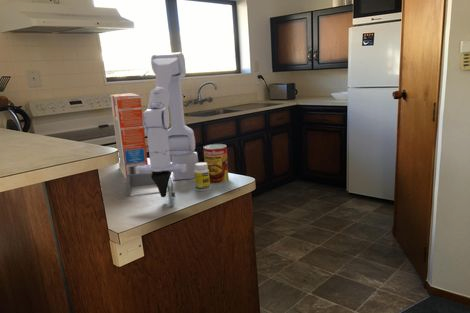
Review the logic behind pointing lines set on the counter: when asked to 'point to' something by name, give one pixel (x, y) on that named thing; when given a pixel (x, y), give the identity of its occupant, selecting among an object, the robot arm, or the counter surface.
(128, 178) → the housing
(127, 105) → the pasta box
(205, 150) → the canned food
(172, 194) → the door
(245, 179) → the counter surface
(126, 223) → the counter surface
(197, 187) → the supplement bottle
